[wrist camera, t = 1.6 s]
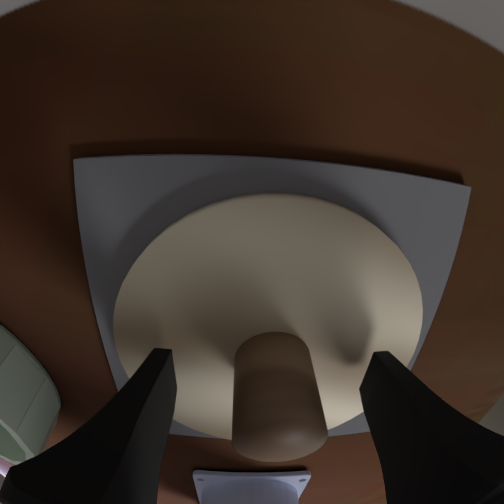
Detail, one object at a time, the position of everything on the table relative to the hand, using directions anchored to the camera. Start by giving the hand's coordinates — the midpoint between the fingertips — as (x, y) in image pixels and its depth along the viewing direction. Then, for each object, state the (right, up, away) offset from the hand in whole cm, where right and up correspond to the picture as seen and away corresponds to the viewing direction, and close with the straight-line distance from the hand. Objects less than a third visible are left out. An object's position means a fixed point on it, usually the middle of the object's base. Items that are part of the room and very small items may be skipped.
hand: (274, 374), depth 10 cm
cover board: (0, +1, +1) cm, 2 cm away
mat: (0, +1, +2) cm, 2 cm away
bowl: (-16, -3, +3) cm, 17 cm away
